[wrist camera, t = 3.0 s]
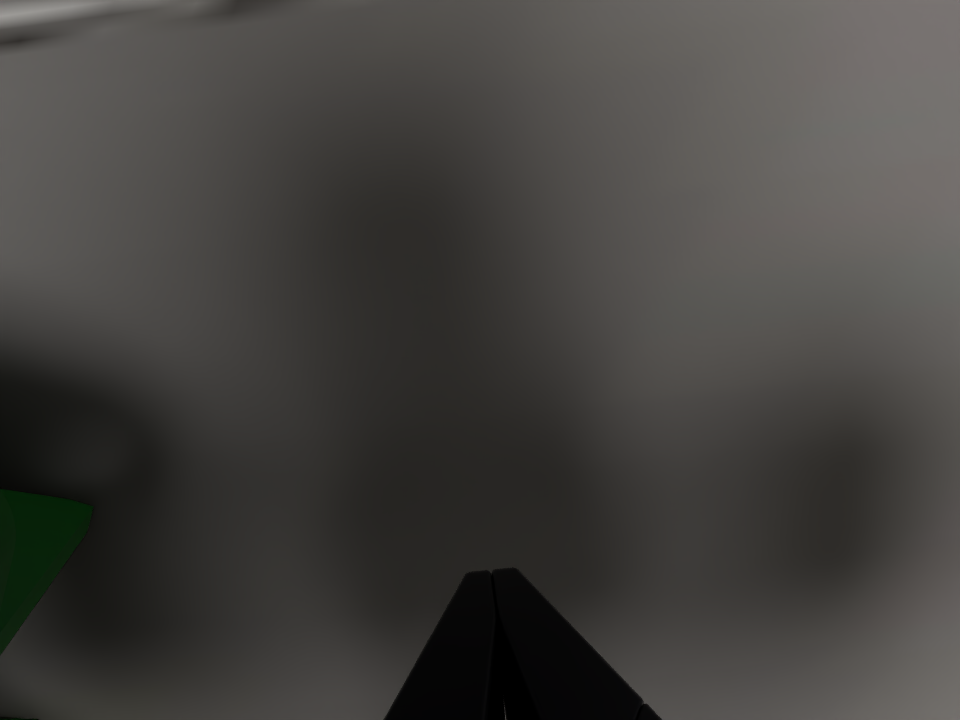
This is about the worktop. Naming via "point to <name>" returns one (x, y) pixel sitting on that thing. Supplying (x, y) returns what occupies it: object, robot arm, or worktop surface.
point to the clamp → (33, 551)
